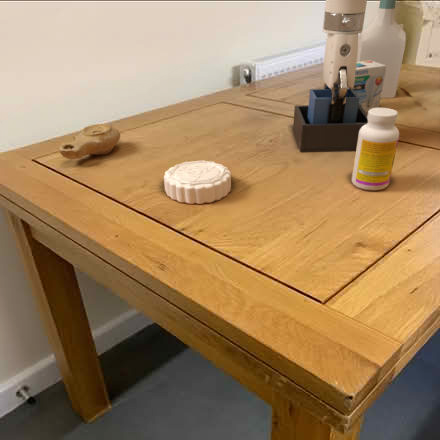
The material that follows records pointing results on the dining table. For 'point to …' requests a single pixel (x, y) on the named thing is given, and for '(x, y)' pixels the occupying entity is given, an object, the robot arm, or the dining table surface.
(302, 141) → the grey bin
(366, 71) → the light bulb box
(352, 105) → the blue bin
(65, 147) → the oil lamp
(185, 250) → the dining table surface
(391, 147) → the supplement bottle
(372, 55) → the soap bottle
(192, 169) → the mooncake
